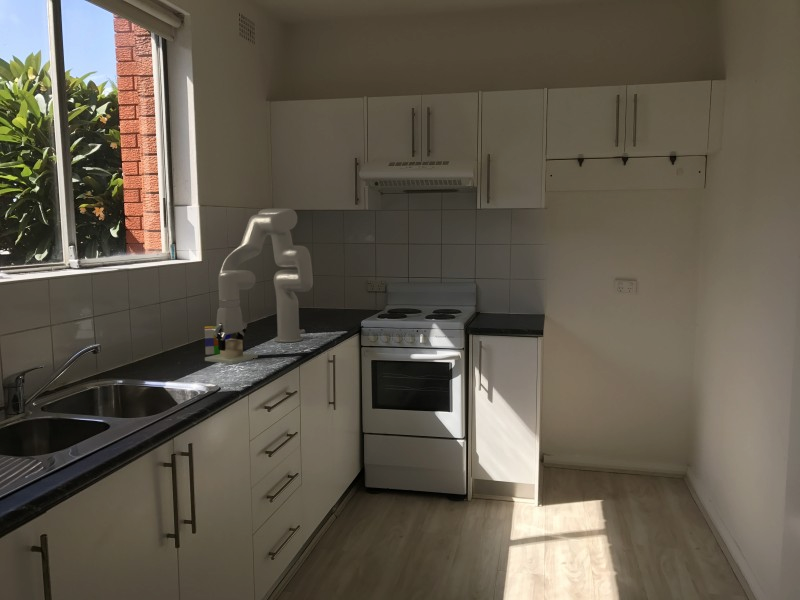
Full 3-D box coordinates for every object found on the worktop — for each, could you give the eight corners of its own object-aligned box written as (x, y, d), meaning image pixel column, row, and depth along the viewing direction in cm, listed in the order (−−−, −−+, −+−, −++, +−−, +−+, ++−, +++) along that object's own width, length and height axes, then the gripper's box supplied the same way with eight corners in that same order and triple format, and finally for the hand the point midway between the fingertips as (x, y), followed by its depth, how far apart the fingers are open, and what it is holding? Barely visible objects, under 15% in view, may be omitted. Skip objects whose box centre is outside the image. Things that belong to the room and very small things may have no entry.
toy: (205, 354, 270) (204, 330, 269) (205, 350, 279) (204, 326, 278) (231, 353, 272) (230, 328, 271) (230, 349, 282) (229, 325, 281)
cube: (231, 353, 264) (230, 338, 264) (242, 355, 261) (242, 339, 261) (220, 356, 259) (219, 341, 258) (232, 357, 256) (231, 342, 255)
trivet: (231, 354, 270) (231, 351, 270) (257, 357, 263) (257, 354, 263) (205, 360, 258) (204, 357, 258) (232, 364, 251) (232, 360, 251)
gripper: (238, 301, 267) (239, 343, 269) (205, 306, 252) (207, 351, 254) (252, 302, 263) (253, 345, 265) (220, 307, 248) (222, 352, 250)
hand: (231, 348), depth 260 cm, fingers open, 9 cm apart
